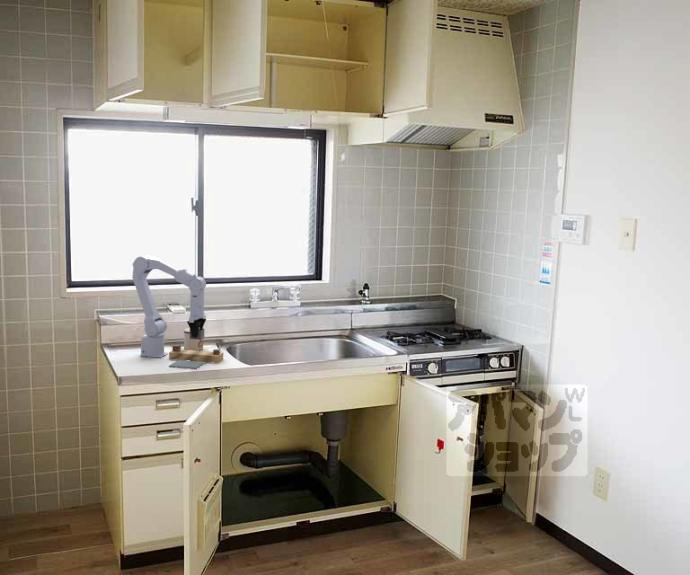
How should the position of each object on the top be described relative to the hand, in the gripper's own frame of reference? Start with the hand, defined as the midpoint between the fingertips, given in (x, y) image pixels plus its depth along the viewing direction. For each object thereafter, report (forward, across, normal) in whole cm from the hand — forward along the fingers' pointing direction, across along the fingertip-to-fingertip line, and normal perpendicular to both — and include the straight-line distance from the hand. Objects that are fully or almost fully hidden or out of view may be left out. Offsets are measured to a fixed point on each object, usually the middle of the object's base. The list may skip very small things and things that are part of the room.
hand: (196, 336), depth 311 cm
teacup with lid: (+10, +19, +8) cm, 23 cm away
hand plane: (+10, 0, 0) cm, 10 cm away
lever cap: (+1, 0, 0) cm, 1 cm away
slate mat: (+10, -11, 0) cm, 15 cm away
